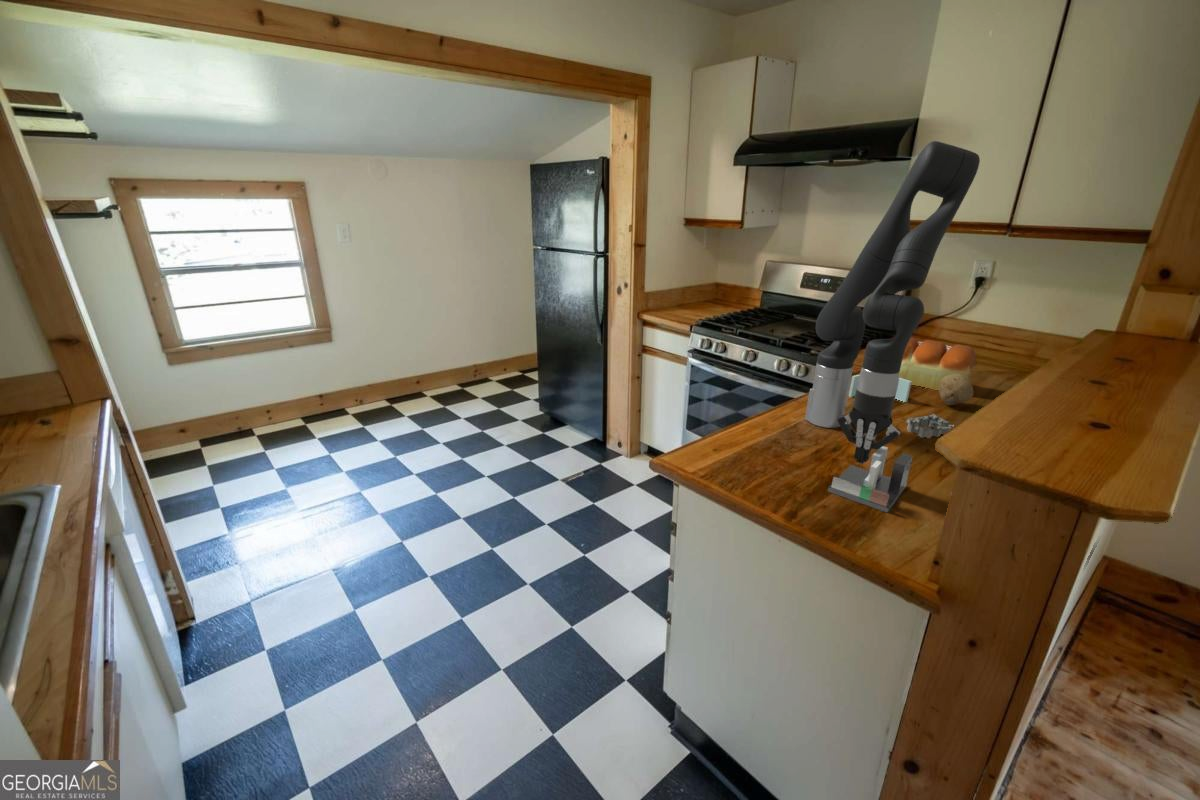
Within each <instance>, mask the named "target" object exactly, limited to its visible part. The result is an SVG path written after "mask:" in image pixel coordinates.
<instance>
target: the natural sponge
mask: <svg viewBox="0 0 1200 800" xmlns="http://www.w3.org/2000/svg"><path fill="white" fill-rule="evenodd" d="M938 392H939V396H940V399H941V401H943V403H944V404H945V405H947V406H955V405H957V404H960V403H965V402H968V401H969V400H971V399H972V398H973V397H974V389H973V385H972V382H971V381H970V379H969V380H968V379H967V378H966V377H965V376H963V375H960V374H957V375H955V374H953V375H948V376H946V377H944V378H943V379H941V381H940V383H939V391H938Z"/></svg>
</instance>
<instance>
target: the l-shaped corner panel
mask: <svg viewBox="0 0 1200 800" xmlns="http://www.w3.org/2000/svg"><path fill="white" fill-rule="evenodd" d="M859 375H860V374H855V375H851V380H850V386H849V391H848V397H849V398H853V396H854V397H855V393H856V388H857V381H858V378H859ZM911 383H912V381H909V380H906V379H902V378H899V382H898V387H897V391H896V396H895V399H897V400H896V401H898V400H900V401H899V402H901V401H903V402H902V403H904V402H906V403H908V399H909V395H910V391H911Z"/></svg>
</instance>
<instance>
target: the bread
mask: <svg viewBox="0 0 1200 800" xmlns="http://www.w3.org/2000/svg"><path fill="white" fill-rule="evenodd" d="M918 342H919V341H917V339H916V338H914V337H913V336H911V338H910V340H909V342H908V344H907V346H906V349H905V352H904V355H903V359H902V363H901V368H900V371H899V378H902V379H906V380H909V381H912V383H911V385H916V386H921V387H925V388H924V389H926V388H930V389H934V390H933V391H935V390H939V383H940V381H941V379H943V378H944V377H946V376H948V375H953V374H955V375H957V374H960V375H963V376H965V377H966V378H967V379H968V380H969V381H970V378H971V377H970V376H971V374H972V371H973V370H972V369H974V367H975V365H976V360H977V354H976V352H975V349H973V348H972V347H971V346H970V345H964V344H958V343H957V344H955V345H953V346H951V348H950V349H949V350H948V351H947V347H946V344H945V343H944V342H942V341H936V340H931V339H925V340H923V341H921V342H922V343H921V344H920V345H919V343H918ZM916 386H915V387H916ZM921 387H920V388H921ZM930 389H929V390H930Z"/></svg>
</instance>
